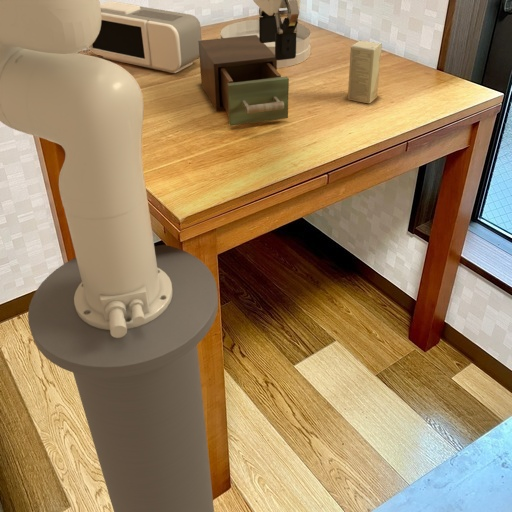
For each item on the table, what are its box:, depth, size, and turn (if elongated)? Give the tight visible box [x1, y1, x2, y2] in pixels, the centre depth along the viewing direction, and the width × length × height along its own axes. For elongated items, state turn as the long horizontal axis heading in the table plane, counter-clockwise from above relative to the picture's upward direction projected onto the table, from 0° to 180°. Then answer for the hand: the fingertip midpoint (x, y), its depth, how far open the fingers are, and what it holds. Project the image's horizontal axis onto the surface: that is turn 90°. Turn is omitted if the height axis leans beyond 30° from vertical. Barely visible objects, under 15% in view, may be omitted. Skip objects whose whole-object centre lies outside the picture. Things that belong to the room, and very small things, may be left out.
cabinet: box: [198, 35, 278, 112], centre depth 123 cm, size 15×13×10 cm
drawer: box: [218, 62, 290, 127], centre depth 114 cm, size 18×11×8 cm, turn 16°
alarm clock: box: [88, 0, 203, 74], centre depth 139 cm, size 27×9×12 cm, turn 60°
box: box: [347, 40, 383, 104], centre depth 120 cm, size 5×4×11 cm
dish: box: [220, 18, 312, 69], centre depth 145 cm, size 22×22×5 cm
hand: (277, 49), depth 95 cm, fingers open, 7 cm apart
